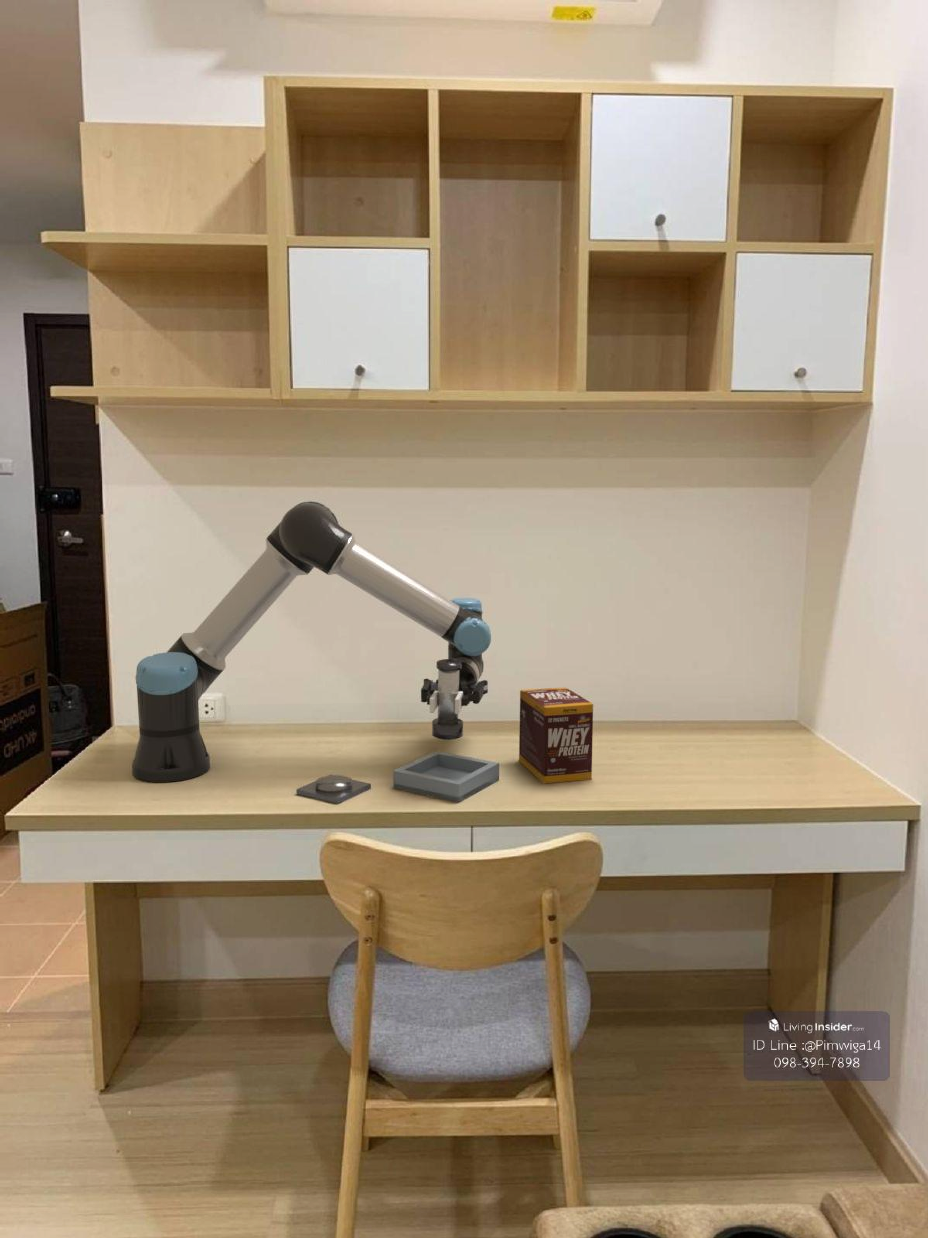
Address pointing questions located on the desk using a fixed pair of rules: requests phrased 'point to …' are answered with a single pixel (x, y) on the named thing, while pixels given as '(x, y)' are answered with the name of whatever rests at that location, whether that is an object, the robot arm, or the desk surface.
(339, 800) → the stud mount
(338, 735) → the desk surface
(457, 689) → the clear capped cylinder
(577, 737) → the supplement box
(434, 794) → the tray
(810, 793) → the desk surface
